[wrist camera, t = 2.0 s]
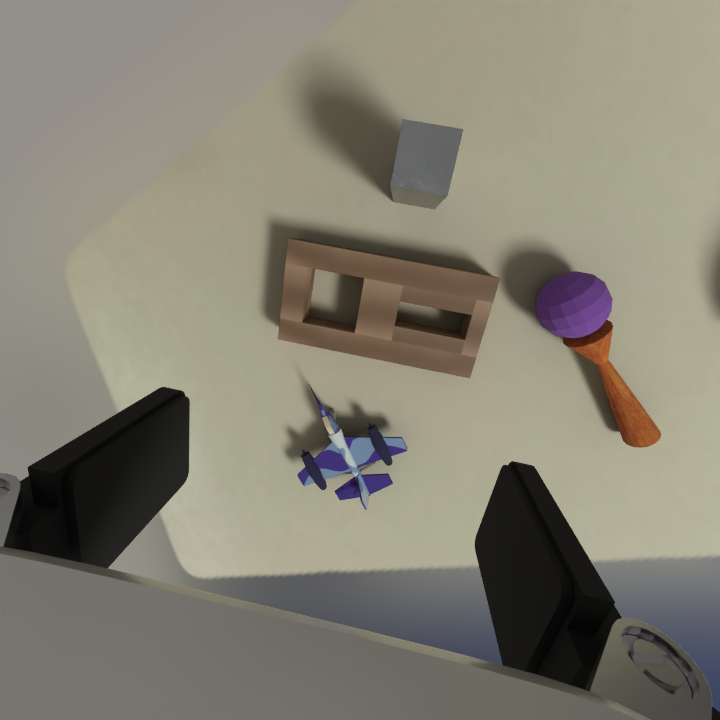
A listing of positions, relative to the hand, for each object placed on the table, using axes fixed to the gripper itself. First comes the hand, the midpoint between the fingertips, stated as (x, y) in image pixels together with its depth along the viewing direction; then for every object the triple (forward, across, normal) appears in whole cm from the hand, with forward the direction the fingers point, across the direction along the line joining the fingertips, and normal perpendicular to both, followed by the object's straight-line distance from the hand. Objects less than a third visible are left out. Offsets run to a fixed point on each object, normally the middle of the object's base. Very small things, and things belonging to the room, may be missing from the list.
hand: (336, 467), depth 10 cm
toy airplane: (+29, +1, +17) cm, 33 cm away
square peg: (+28, -1, -12) cm, 31 cm away
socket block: (+28, 0, 0) cm, 28 cm away
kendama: (+29, -22, +1) cm, 36 cm away
